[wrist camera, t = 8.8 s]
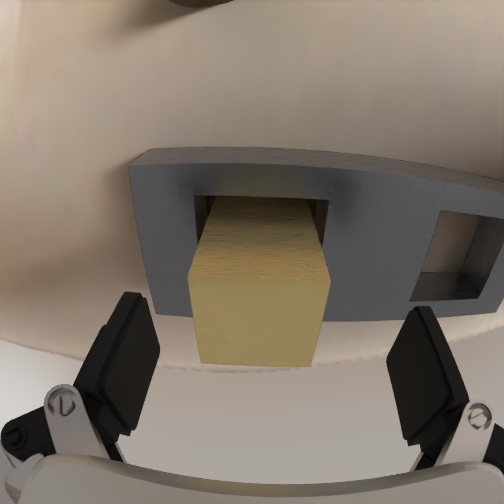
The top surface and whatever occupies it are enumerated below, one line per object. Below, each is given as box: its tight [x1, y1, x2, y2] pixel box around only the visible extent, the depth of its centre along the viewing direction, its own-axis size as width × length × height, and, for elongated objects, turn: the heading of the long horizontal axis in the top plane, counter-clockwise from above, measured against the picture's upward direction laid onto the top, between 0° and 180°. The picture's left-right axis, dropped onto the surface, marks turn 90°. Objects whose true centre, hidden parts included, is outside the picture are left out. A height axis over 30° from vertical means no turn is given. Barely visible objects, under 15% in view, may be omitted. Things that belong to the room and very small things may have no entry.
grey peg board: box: [128, 147, 504, 321], centre depth 16 cm, size 24×9×3 cm, turn 89°
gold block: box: [187, 196, 331, 367], centre depth 14 cm, size 4×4×8 cm
